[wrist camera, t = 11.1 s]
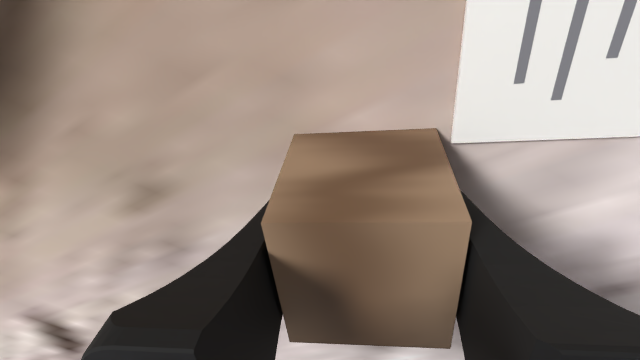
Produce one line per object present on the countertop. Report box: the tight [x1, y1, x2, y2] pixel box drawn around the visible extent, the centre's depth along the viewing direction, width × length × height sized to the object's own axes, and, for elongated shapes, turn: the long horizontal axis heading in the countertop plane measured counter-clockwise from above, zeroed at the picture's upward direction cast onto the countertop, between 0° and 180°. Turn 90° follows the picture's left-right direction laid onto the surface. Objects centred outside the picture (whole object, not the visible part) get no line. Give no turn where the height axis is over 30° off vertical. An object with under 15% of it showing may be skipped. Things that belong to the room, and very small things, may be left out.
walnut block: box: [261, 128, 472, 349], centre depth 12 cm, size 5×5×5 cm
